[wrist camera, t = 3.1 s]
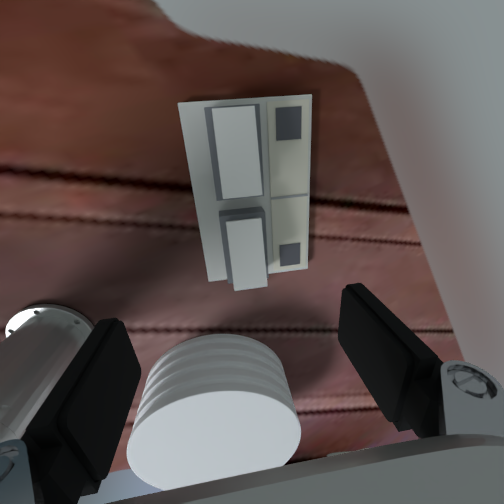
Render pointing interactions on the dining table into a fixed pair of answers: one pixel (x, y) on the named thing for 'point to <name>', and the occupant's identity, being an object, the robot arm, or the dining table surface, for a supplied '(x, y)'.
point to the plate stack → (213, 413)
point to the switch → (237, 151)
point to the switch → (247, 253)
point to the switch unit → (272, 179)
